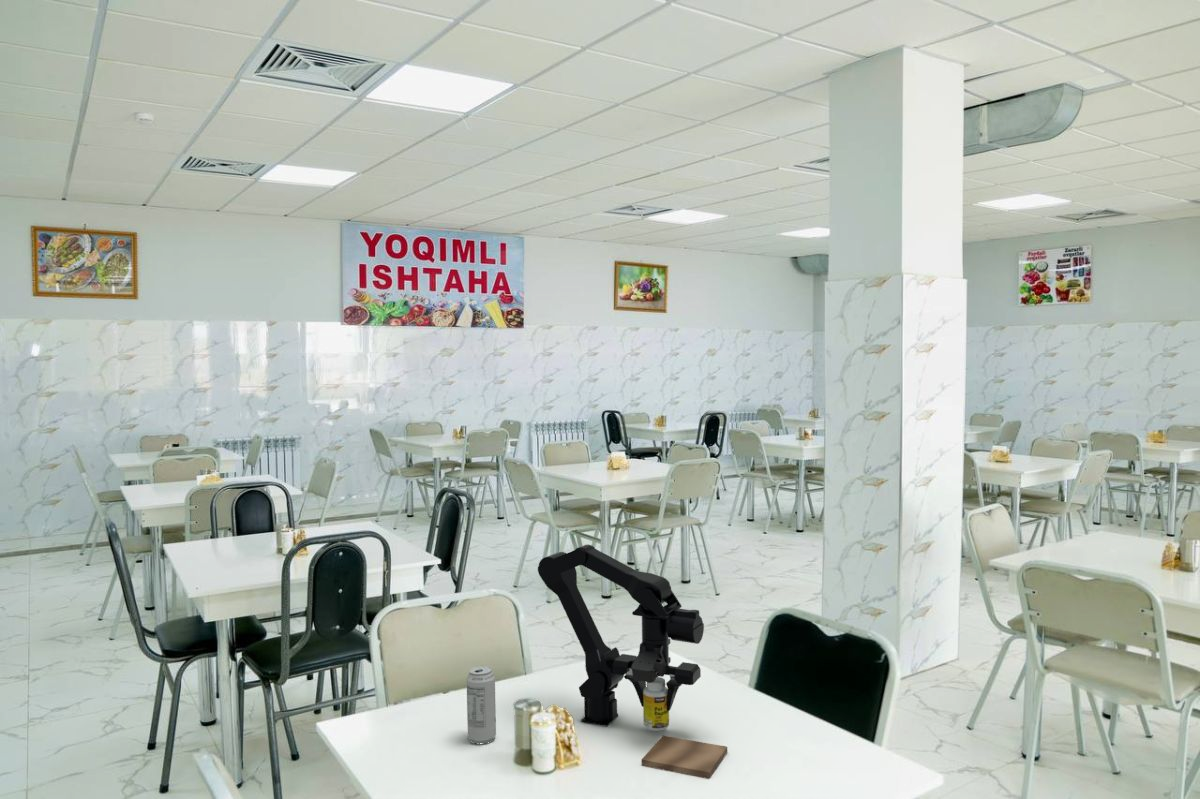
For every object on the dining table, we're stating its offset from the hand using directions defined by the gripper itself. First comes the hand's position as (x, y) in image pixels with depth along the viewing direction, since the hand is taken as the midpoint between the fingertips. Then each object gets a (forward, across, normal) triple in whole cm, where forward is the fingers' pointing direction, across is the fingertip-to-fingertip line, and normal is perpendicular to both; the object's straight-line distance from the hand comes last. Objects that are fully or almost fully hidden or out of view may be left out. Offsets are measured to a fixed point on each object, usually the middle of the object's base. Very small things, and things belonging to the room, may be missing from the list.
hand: (656, 708), depth 183 cm
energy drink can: (+5, -33, -18) cm, 38 cm away
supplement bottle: (+4, 0, 0) cm, 4 cm away
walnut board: (+5, +10, -10) cm, 15 cm away
